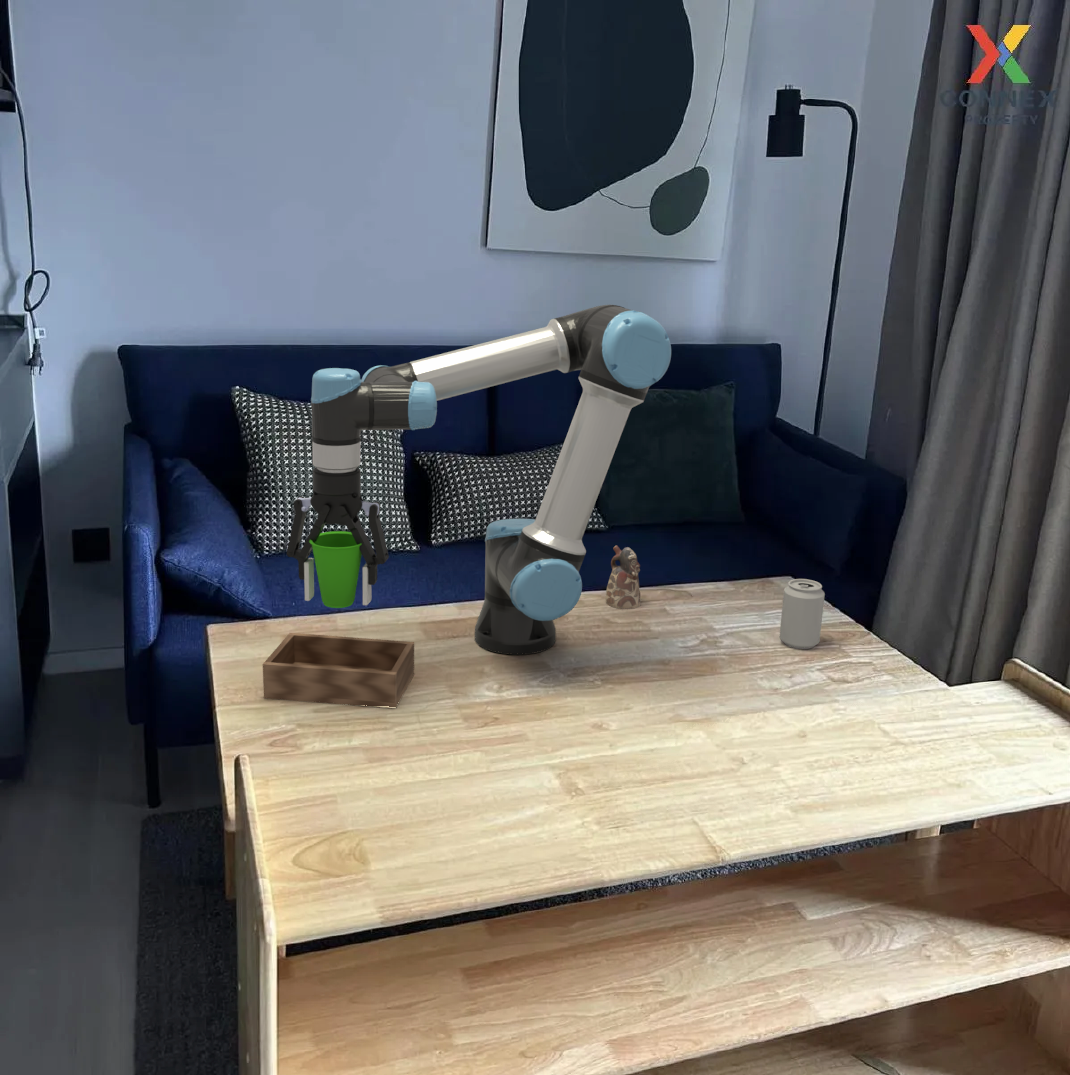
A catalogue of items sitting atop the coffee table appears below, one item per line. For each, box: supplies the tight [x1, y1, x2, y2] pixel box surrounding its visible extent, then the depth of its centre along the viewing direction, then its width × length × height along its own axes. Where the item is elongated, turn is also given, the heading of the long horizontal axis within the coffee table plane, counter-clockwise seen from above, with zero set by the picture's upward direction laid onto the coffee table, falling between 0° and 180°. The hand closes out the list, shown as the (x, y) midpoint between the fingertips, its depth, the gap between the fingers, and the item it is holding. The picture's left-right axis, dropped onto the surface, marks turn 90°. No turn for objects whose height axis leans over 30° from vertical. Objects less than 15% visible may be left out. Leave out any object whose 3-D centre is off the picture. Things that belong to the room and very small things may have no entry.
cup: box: [309, 530, 363, 609], centre depth 193 cm, size 9×9×11 cm
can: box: [778, 578, 826, 650], centre depth 222 cm, size 8×8×12 cm
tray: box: [262, 632, 415, 708], centre depth 198 cm, size 22×14×6 cm, turn 83°
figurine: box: [605, 545, 641, 610], centre depth 240 cm, size 7×7×12 cm
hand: (338, 600), depth 194 cm, fingers closed on cup, 9 cm apart
